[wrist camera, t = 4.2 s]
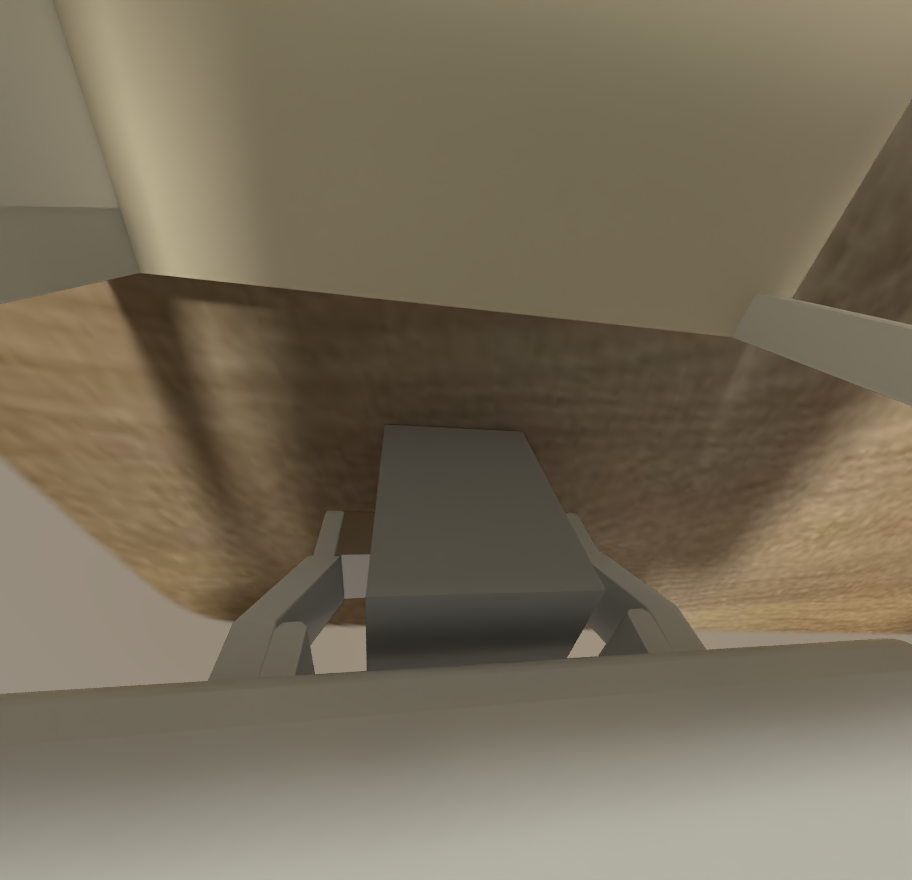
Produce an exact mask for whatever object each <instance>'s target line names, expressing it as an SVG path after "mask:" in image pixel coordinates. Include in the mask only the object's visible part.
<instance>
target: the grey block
mask: <svg viewBox="0 0 912 880" xmlns="http://www.w3.org/2000/svg"><path fill="white" fill-rule="evenodd" d="M605 591H606V590H605V588H604V586H603V584H602V582H601V580H600V578H599V576H598V574H597V573H596V571H595V569H594V567H593V565H592V563H591V561H590V559H589V557H588V555H587V554H586V552H585V550H584V548H583V546H582V544H581V542H580V540H579V538H578V536H577V534H576V533H575V531H574V529H573V527H572V525H571V523H570V521H569V519H568V517H567V515H566V513H565V512H564V510H563V508H562V506H561V504H560V502H559V500H558V498H557V496H556V494H555V493H554V491H553V489H552V487H551V485H550V483H549V481H548V479H547V477H546V475H545V473H544V472H543V470H542V468H541V466H540V464H539V462H538V460H537V458H536V456H535V454H534V453H533V451H532V449H531V447H530V445H529V443H528V441H527V439H526V437H525V435H524V433H523V432H522V431H504V430H484V429H465V428H445V427H426V426H406V425H387V424H385V426H384V435H383V444H382V453H381V462H380V471H379V480H378V489H377V498H376V507H375V516H374V525H373V534H372V543H371V552H370V561H369V570H368V579H367V588H366V646H367V647H366V651H367V671H376V670H392V669H408V668H424V667H440V666H456V665H471V664H487V663H503V662H518V661H534V660H551V659H566V658H567V656H568V655H569V653H570V651H571V650H572V648H573V646H574V644H575V643H576V640H577V639H578V637H579V636H580V634H581V632H582V630H583V629H584V627H585V625H586V623H587V622H588V620H589V618H590V617H591V615H592V613H593V611H594V610H595V608H596V606H597V604H598V603H599V601H600V599H601V597H602V596H603V594H604V592H605Z"/></svg>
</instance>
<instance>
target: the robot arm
mask: <svg viewBox="0 0 912 880" xmlns="http://www.w3.org/2000/svg"><path fill="white" fill-rule="evenodd" d="M566 515H567V517H568V519H569V521H570V523H571V525H572V527H573V529H574V531H575V533H576V534H577V536H578V538H579V540H580V542H581V544H582V546H583V548H584V550H585V552H586V554H587V555H588V557H589V559H590V561H591V563H592V565H593V567H594V569H595V571H596V573H597V574H598V576H599V578H600V580H601V582H602V584H603V586H604V588H605V590H606V591H605V592H604V594H603V596H602V597H601V599H600V601H599V603H598V604H597V606H596V608H595V610H594V611H593V613H592V615H591V617H590V618H589V620H588V622H587V623H588V625H589V626H590V627H591V628H592V629H593V630H594V631H595V632H596V633H597V634H598V635H599V636H600V637H601V638H602V640H603V641H604V642H605V643H606V645H605V646H604V648H603V649H602V651H601V653H600V654H599V656H598V657H583V658H567V659H551V660H534V661H518V662H503V663H487V664H471V665H456V666H440V667H424V668H408V669H392V670H376V671H361V672H345V673H329V674H315V672H314V666H313V661H312V655H311V649H310V645H311V644H312V642H313V641H314V640H315V638H316V637H317V636H318V634H319V633H320V632H321V630H322V629H323V628H324V626H325V625H326V624H327V622H328V621H329V620H330V618H331V617H332V616H333V615H334V613H335V612H336V611H337V609H338V608H339V607H340V605H341V604H342V603H343V601H344V599H350V598H366V588H367V579H368V570H369V561H370V552H371V543H372V534H373V525H374V516H375V512H365V511H327V512H326V513H325V516H324V519H323V523H322V526H321V530H320V533H319V537H318V541H317V544H316V548H315V551H314V555H313V556H307V557H306V558H305V559H304V560H303V561H302V562H300V563H299V564H298V565H297V566H296V567H295V568H294V569H293V570H291V571H290V572H289V573H288V574H287V575H286V576H285V577H284V578H283V579H281V580H280V581H279V582H278V583H277V584H276V585H275V586H274V587H272V588H271V589H270V590H269V591H268V592H267V593H266V594H265V595H263V596H262V597H261V598H260V599H259V600H258V601H257V602H256V603H255V604H253V605H252V606H251V607H250V608H249V609H248V610H247V611H246V612H244V613H243V614H242V615H241V616H240V617H239V618H238V619H237V620H235V621H234V622H233V624H232V627H231V629H230V631H229V634H228V636H227V638H226V640H225V643H224V645H223V647H222V650H221V652H220V654H219V657H218V659H217V661H216V664H215V666H214V668H213V671H212V673H211V675H210V678H209V680H208V681H202V682H186V683H185V682H184V683H169V684H152V685H137V686H120V687H103V688H88V689H71V690H55V691H38V692H24V693H7V694H0V880H912V645H911V644H909V643H907V642H903V641H901V640H895V639H869V640H855V641H838V642H824V643H823V642H822V643H806V644H790V645H775V646H758V647H742V648H726V649H710V650H706V648H705V647H704V645H703V644H702V642H701V641H700V640H699V638H698V637H697V635H696V634H695V632H694V631H693V629H692V628H691V626H690V625H689V623H688V622H687V620H686V619H685V618H684V616H683V615H682V613H681V612H680V610H679V609H678V607H677V606H676V605H674V604H673V603H672V602H670V601H669V600H668V599H666V598H665V597H663V596H662V595H661V594H659V593H658V592H657V591H655V590H654V589H652V588H651V587H650V586H648V585H647V584H646V583H644V582H643V581H641V580H640V579H639V578H637V577H636V576H635V575H633V574H632V573H630V572H629V571H628V570H626V569H625V568H624V567H622V566H621V565H619V564H618V563H617V562H615V561H614V560H613V559H611V558H610V557H608V556H607V555H606V554H604V553H599V551H598V549H597V548H596V546H595V544H594V543H593V541H592V539H591V537H590V536H589V534H588V532H587V530H586V529H585V527H584V525H583V523H582V522H581V520H580V518H579V516H578V515H577V514H575V513H566Z"/></svg>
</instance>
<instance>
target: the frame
mask: <svg viewBox="0 0 912 880" xmlns="http://www.w3.org/2000/svg"><path fill="white" fill-rule="evenodd" d="M911 100H912V0H0V304H2V303H7V302H11V301H16V300H20V299H25V298H29V297H34V296H38V295H43V294H47V293H52V292H56V291H61V290H65V289H70V288H74V287H79V286H83V285H88V284H92V283H97V282H101V281H106V280H110V279H115V278H119V277H124V276H128V275H133V274H137V273H146V274H156V275H165V276H174V277H183V278H192V279H202V280H211V281H220V282H229V283H238V284H247V285H257V286H266V287H275V288H284V289H293V290H303V291H312V292H321V293H330V294H339V295H348V296H358V297H367V298H376V299H385V300H394V301H404V302H413V303H422V304H431V305H440V306H449V307H459V308H468V309H477V310H486V311H495V312H505V313H514V314H523V315H532V316H541V317H550V318H560V319H569V320H578V321H587V322H596V323H605V324H615V325H624V326H633V327H642V328H651V329H661V330H670V331H679V332H688V333H697V334H706V335H716V336H725V337H732V338H735V339H738V340H740V341H743V342H746V343H748V344H751V345H753V346H756V347H759V348H761V349H764V350H766V351H769V352H772V353H774V354H777V355H780V356H782V357H785V358H787V359H790V360H793V361H795V362H798V363H800V364H803V365H806V366H808V367H811V368H814V369H816V370H819V371H821V372H824V373H827V374H829V375H832V376H834V377H837V378H840V379H842V380H845V381H848V382H850V383H853V384H855V385H858V386H861V387H863V388H866V389H869V390H871V391H874V392H876V393H879V394H882V395H884V396H887V397H889V398H892V399H895V400H897V401H900V402H903V403H905V404H908V405H910V406H912V325H910V324H905V323H901V322H896V321H892V320H887V319H883V318H878V317H874V316H869V315H865V314H860V313H855V312H851V311H846V310H842V309H837V308H833V307H828V306H824V305H819V304H815V303H810V302H806V301H801V300H797V299H792V298H793V296H794V294H795V293H796V291H797V289H798V288H799V286H800V284H801V283H802V281H803V279H804V278H805V276H806V274H807V273H808V271H809V269H810V268H811V266H812V265H813V263H814V261H815V260H816V258H817V256H818V255H819V253H820V251H821V250H822V248H823V246H824V245H825V243H826V241H827V240H828V238H829V236H830V235H831V233H832V231H833V230H834V228H835V226H836V225H837V223H838V221H839V220H840V218H841V216H842V215H843V213H844V211H845V210H846V208H847V206H848V205H849V203H850V201H851V200H852V198H853V196H854V195H855V193H856V191H857V190H858V188H859V187H860V185H861V183H862V182H863V180H864V178H865V177H866V175H867V173H868V172H869V170H870V168H871V167H872V165H873V163H874V162H875V160H876V158H877V157H878V155H879V153H880V152H881V150H882V148H883V147H884V145H885V143H886V142H887V140H888V138H889V137H890V135H891V133H892V132H893V130H894V128H895V127H896V125H897V123H898V122H899V120H900V118H901V117H902V115H903V113H904V112H905V110H906V109H907V107H908V105H909V104H910V102H911Z"/></svg>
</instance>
